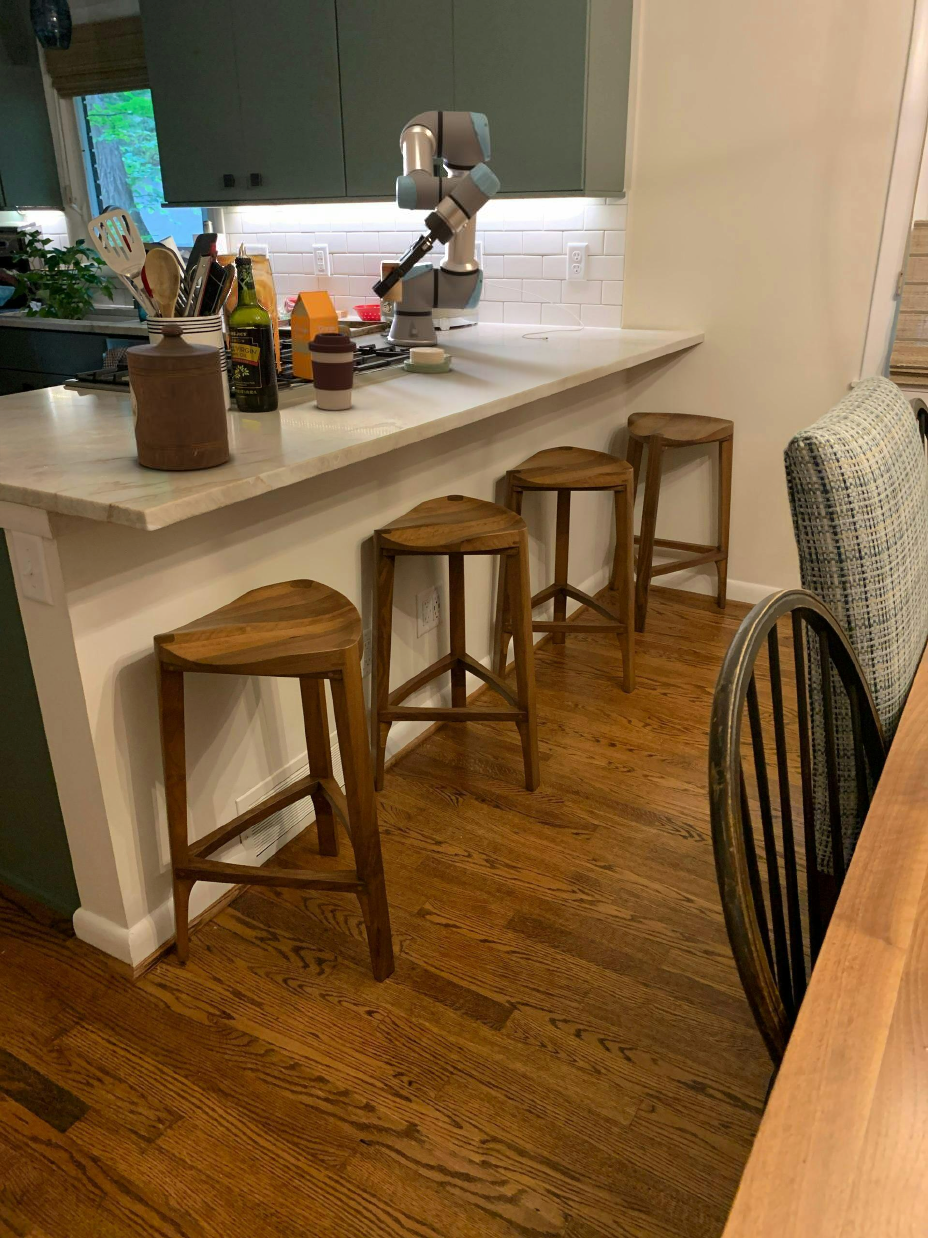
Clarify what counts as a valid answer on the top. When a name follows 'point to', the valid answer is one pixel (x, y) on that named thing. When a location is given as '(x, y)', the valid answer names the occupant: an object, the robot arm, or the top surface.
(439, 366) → the disc stack
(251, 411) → the top surface
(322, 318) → the orange juice
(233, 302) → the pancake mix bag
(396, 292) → the cylinder
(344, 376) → the coffee cup
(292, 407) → the top surface
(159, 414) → the wooden container
